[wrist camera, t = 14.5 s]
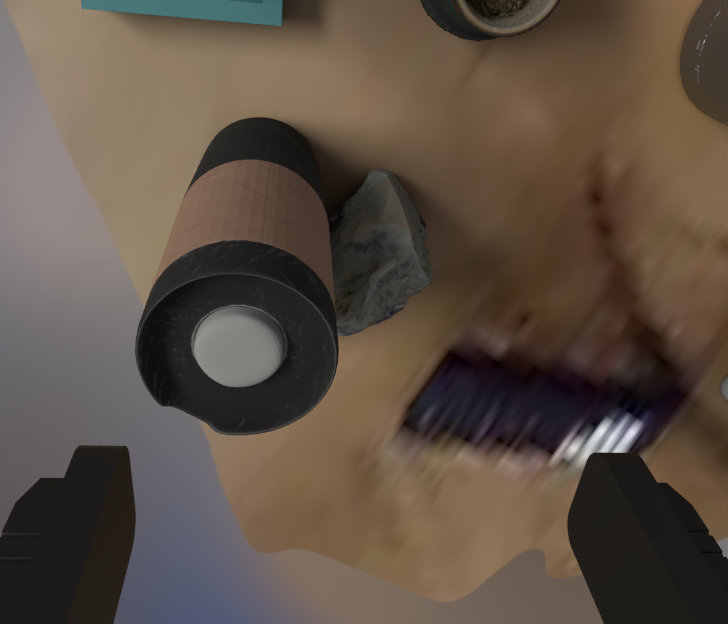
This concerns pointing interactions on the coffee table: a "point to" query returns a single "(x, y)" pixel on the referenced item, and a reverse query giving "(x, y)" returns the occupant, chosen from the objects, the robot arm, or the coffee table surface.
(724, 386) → the chubby cartoon animal
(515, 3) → the mate gourd
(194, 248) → the travel mug
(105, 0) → the tray
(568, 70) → the coffee table surface
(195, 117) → the coffee table surface
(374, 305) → the mineral rock
